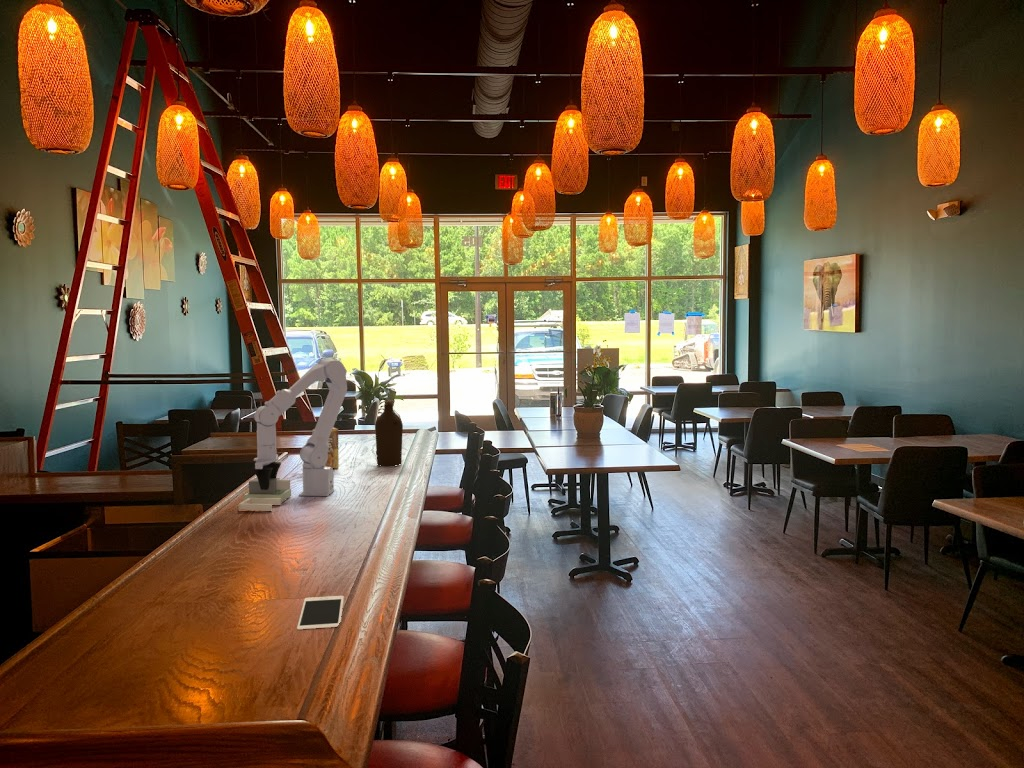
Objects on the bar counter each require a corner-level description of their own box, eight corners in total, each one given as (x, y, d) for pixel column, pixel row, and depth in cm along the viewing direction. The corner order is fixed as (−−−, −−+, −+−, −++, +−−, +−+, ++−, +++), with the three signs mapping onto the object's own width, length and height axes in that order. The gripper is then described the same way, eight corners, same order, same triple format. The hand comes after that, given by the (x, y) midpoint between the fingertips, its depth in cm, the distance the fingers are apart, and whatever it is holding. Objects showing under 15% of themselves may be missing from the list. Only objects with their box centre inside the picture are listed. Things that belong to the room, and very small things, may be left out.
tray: (291, 496, 245) (290, 488, 244) (281, 503, 236) (281, 495, 236) (255, 496, 245) (254, 488, 245) (244, 502, 237) (244, 494, 236)
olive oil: (407, 463, 301) (407, 400, 299) (394, 468, 291) (394, 402, 289) (384, 461, 305) (383, 399, 303) (370, 466, 295) (369, 401, 293)
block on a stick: (292, 490, 242) (292, 478, 242) (287, 494, 237) (286, 481, 237) (255, 490, 243) (254, 478, 243) (249, 494, 238) (248, 481, 238)
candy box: (334, 466, 294) (333, 427, 292) (339, 468, 290) (338, 428, 289) (312, 469, 288) (311, 429, 287) (317, 471, 285) (316, 430, 283)
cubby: (280, 505, 233) (280, 498, 233) (271, 512, 225) (270, 504, 225) (249, 504, 234) (249, 497, 234) (238, 511, 226) (238, 504, 226)
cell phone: (344, 598, 157) (344, 595, 157) (340, 629, 142) (340, 626, 142) (304, 600, 156) (304, 597, 156) (296, 632, 140) (296, 629, 140)
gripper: (262, 440, 246) (263, 482, 248) (244, 448, 232) (246, 492, 233) (284, 441, 246) (285, 482, 247) (267, 448, 232) (268, 492, 233)
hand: (267, 487), depth 240 cm, fingers closed on block on a stick, 5 cm apart
